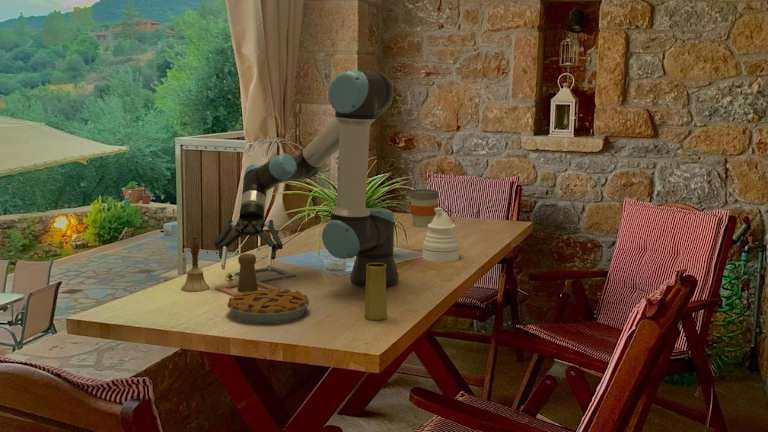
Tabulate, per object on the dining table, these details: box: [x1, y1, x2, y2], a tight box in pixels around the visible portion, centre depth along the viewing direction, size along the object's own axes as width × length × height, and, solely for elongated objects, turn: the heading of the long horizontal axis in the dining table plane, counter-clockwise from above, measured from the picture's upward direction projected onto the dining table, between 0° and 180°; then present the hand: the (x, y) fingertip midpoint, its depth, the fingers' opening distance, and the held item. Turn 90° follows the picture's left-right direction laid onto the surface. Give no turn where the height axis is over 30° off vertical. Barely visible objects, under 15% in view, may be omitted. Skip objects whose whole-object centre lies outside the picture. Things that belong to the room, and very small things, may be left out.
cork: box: [237, 252, 259, 293], centre depth 239 cm, size 6×6×11 cm
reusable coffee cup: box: [409, 188, 440, 228], centre depth 348 cm, size 13×13×15 cm
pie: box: [226, 288, 310, 324], centre depth 216 cm, size 22×22×5 cm
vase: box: [364, 263, 388, 321], centre depth 213 cm, size 6×6×14 cm
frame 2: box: [234, 266, 297, 283], centre depth 258 cm, size 14×14×1 cm
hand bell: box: [180, 235, 210, 293], centre depth 240 cm, size 8×8×16 cm
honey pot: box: [422, 207, 460, 263], centre depth 285 cm, size 13×13×18 cm
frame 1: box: [214, 281, 281, 298], centre depth 240 cm, size 14×14×1 cm
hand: (246, 267), depth 237 cm, fingers open, 13 cm apart
